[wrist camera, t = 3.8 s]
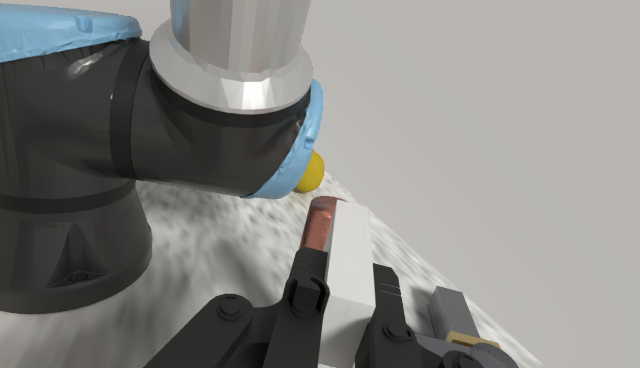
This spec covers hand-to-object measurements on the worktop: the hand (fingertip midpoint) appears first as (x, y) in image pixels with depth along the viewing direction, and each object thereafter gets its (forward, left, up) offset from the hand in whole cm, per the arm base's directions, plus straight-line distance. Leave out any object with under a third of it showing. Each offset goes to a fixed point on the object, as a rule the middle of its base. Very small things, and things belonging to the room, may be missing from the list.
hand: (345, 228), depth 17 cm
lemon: (-4, +41, -19) cm, 45 cm away
